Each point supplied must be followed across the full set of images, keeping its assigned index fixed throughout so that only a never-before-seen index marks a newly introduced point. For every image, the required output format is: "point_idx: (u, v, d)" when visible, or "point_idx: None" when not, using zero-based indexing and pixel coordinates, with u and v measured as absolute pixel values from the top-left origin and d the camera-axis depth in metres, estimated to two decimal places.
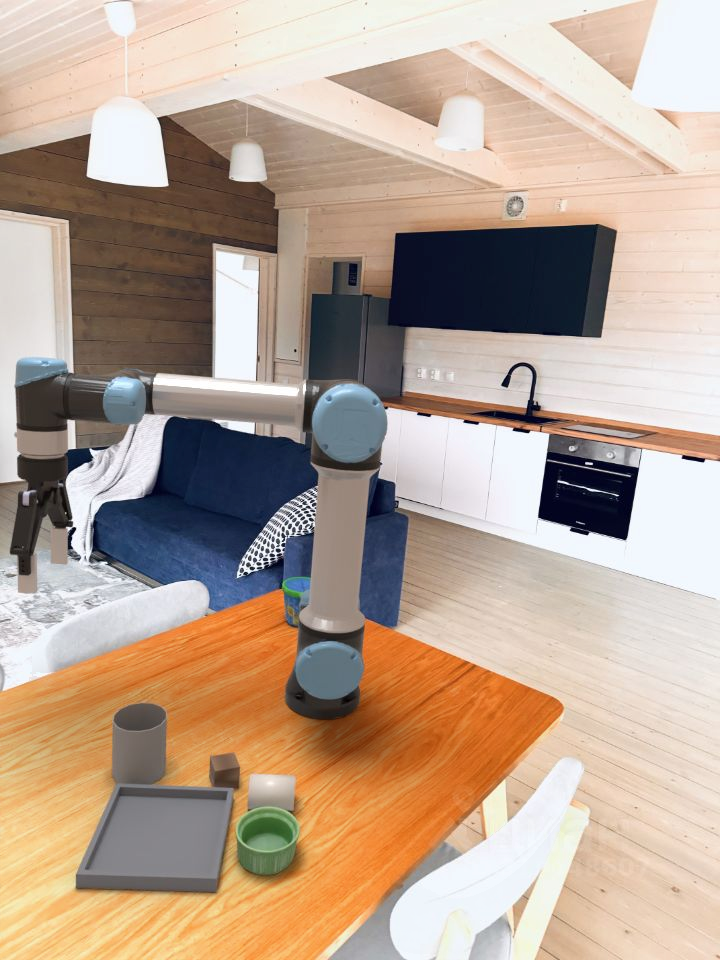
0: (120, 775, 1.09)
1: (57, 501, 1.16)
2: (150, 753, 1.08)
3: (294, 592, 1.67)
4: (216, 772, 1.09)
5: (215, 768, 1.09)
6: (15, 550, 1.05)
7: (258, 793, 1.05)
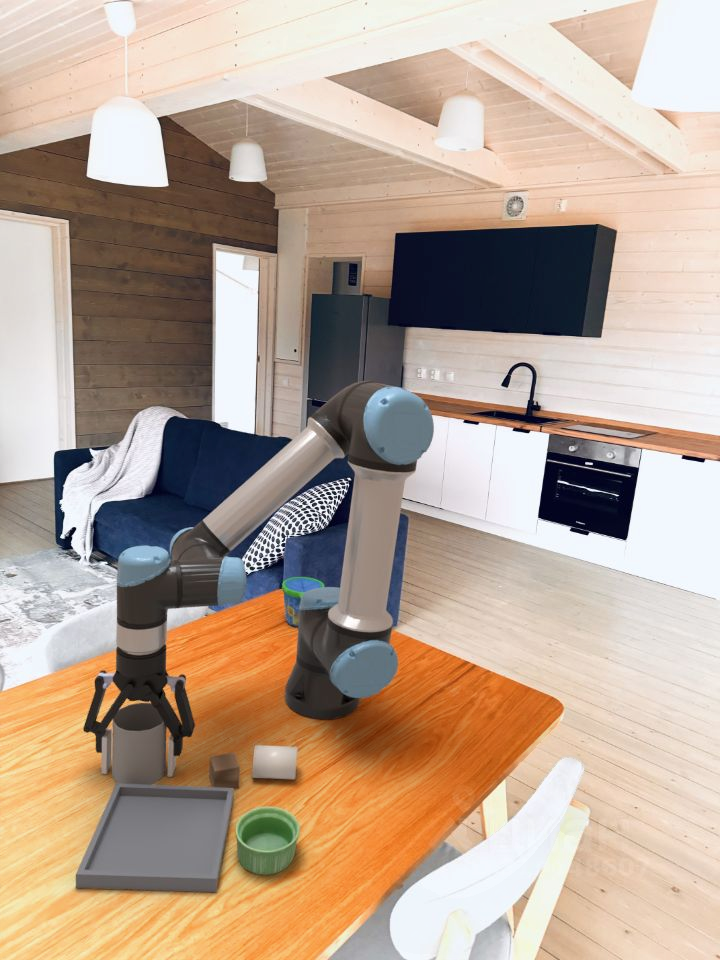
0: (120, 775, 1.09)
1: (150, 699, 1.08)
2: (150, 753, 1.08)
3: (294, 592, 1.67)
4: (216, 772, 1.09)
5: (215, 768, 1.09)
6: None
7: None
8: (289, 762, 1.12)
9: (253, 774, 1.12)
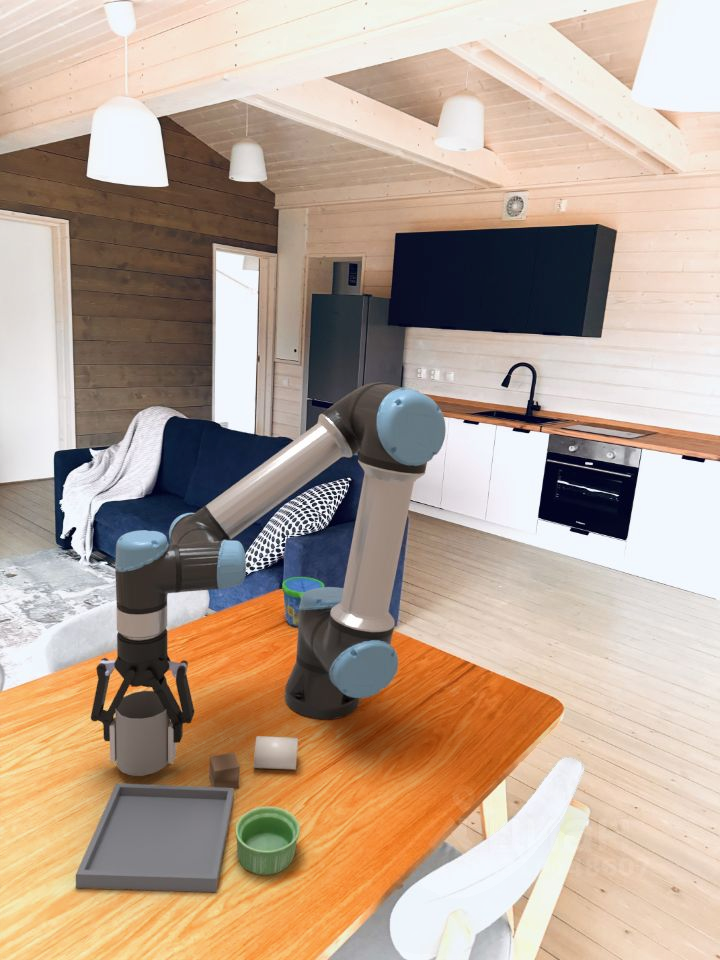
0: (125, 763, 1.09)
1: (151, 685, 1.08)
2: (154, 740, 1.08)
3: (294, 592, 1.67)
4: (216, 772, 1.09)
5: (215, 768, 1.09)
6: None
7: None
8: (291, 739, 1.17)
9: (256, 749, 1.14)
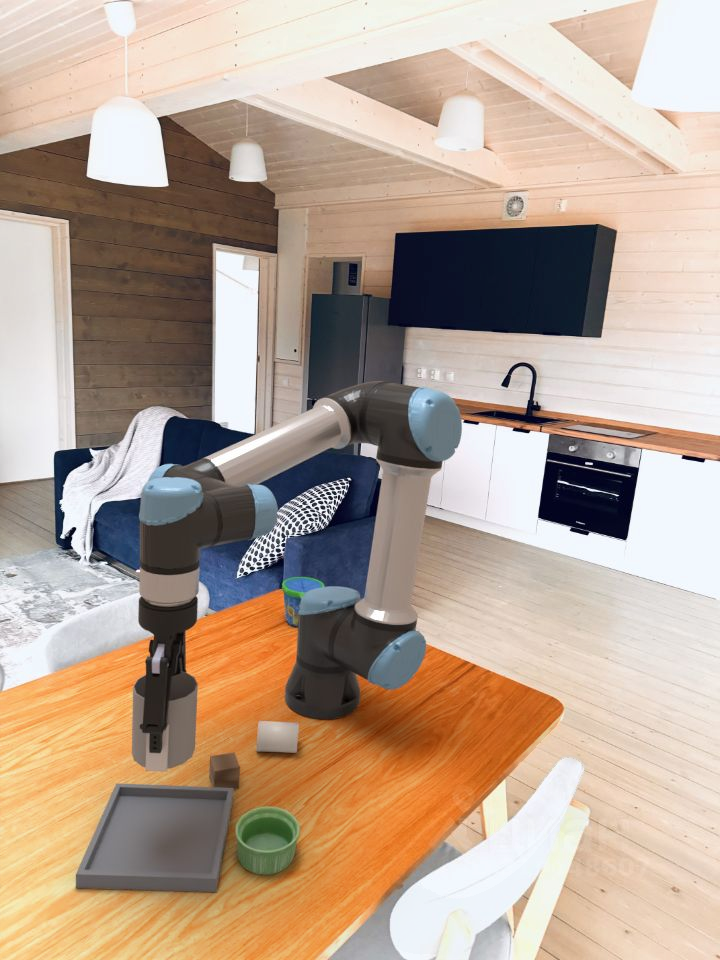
0: (187, 749, 0.93)
1: (180, 650, 0.94)
2: None
3: (294, 592, 1.67)
4: (216, 772, 1.09)
5: (215, 768, 1.09)
6: (148, 728, 0.86)
7: (265, 741, 1.19)
8: None
9: None
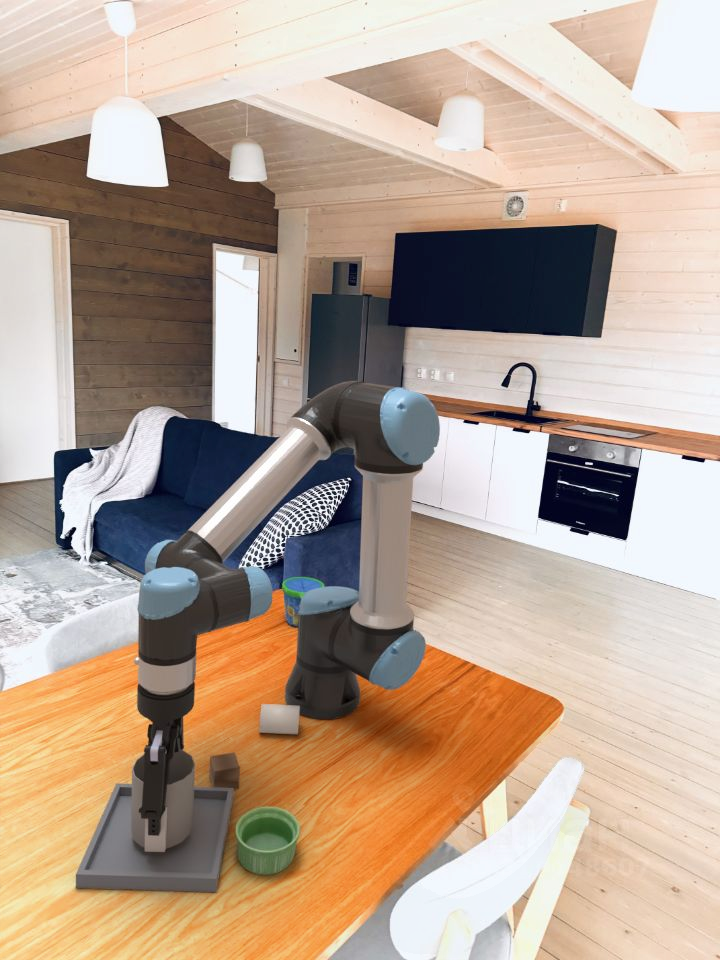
0: (185, 828, 0.96)
1: (178, 732, 0.97)
2: None
3: (294, 592, 1.67)
4: (216, 772, 1.09)
5: (215, 768, 1.09)
6: (147, 814, 0.89)
7: None
8: (291, 731, 1.25)
9: None
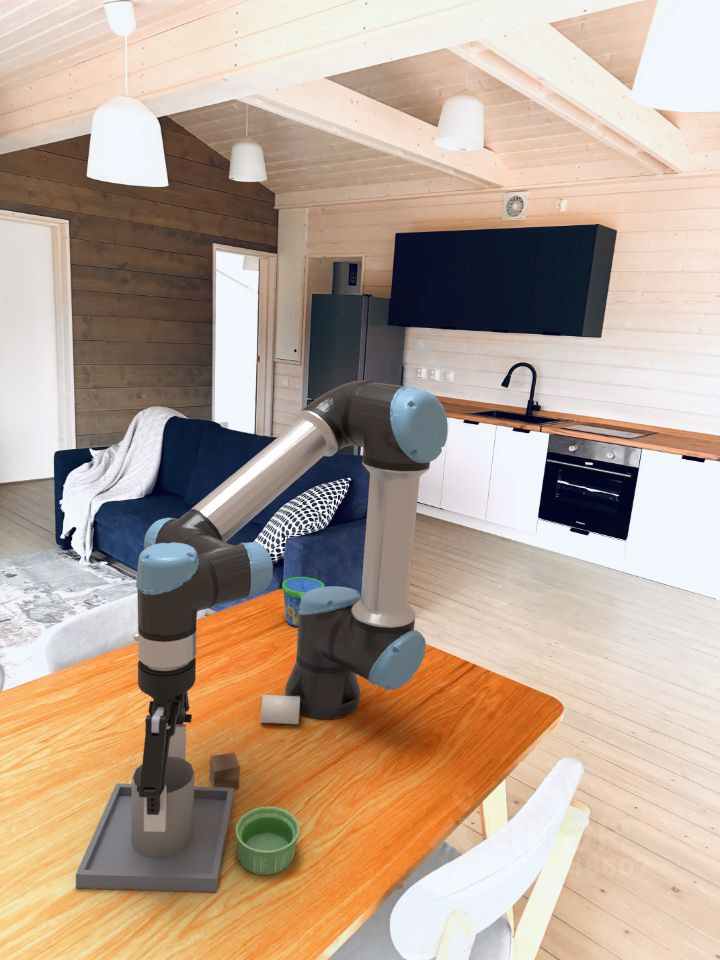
0: (185, 836, 0.97)
1: (180, 705, 0.97)
2: None
3: (294, 592, 1.67)
4: (216, 772, 1.09)
5: (215, 768, 1.09)
6: (145, 793, 0.86)
7: None
8: (293, 705, 1.28)
9: (261, 716, 1.27)
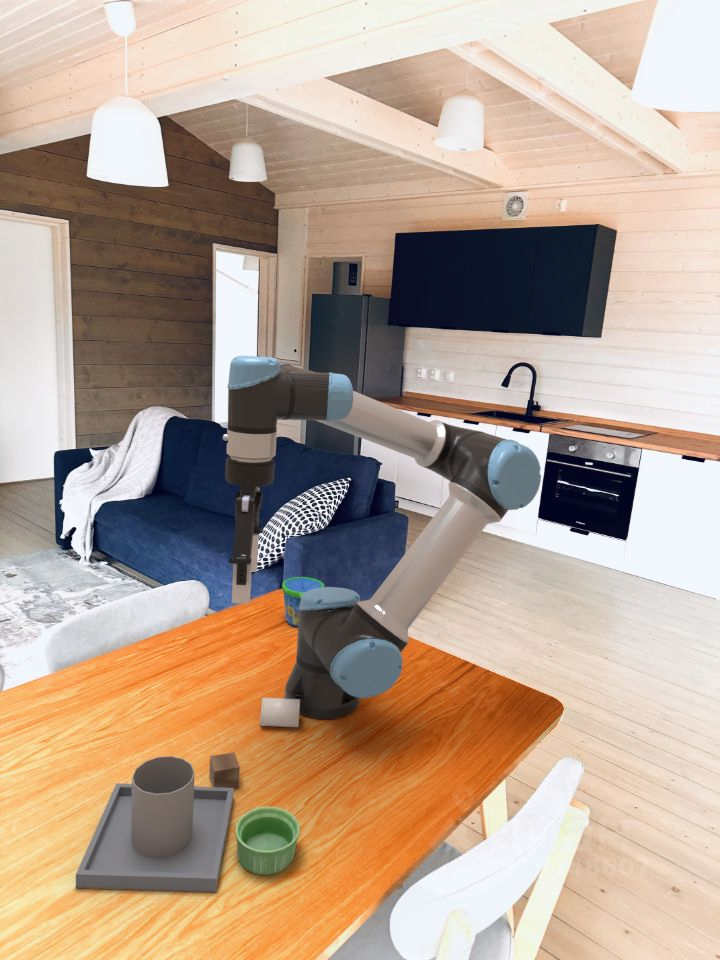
0: (185, 836, 0.97)
1: None
2: None
3: (294, 592, 1.67)
4: (215, 772, 1.09)
5: (215, 768, 1.09)
6: (237, 559, 1.00)
7: None
8: (293, 713, 1.27)
9: (261, 723, 1.27)
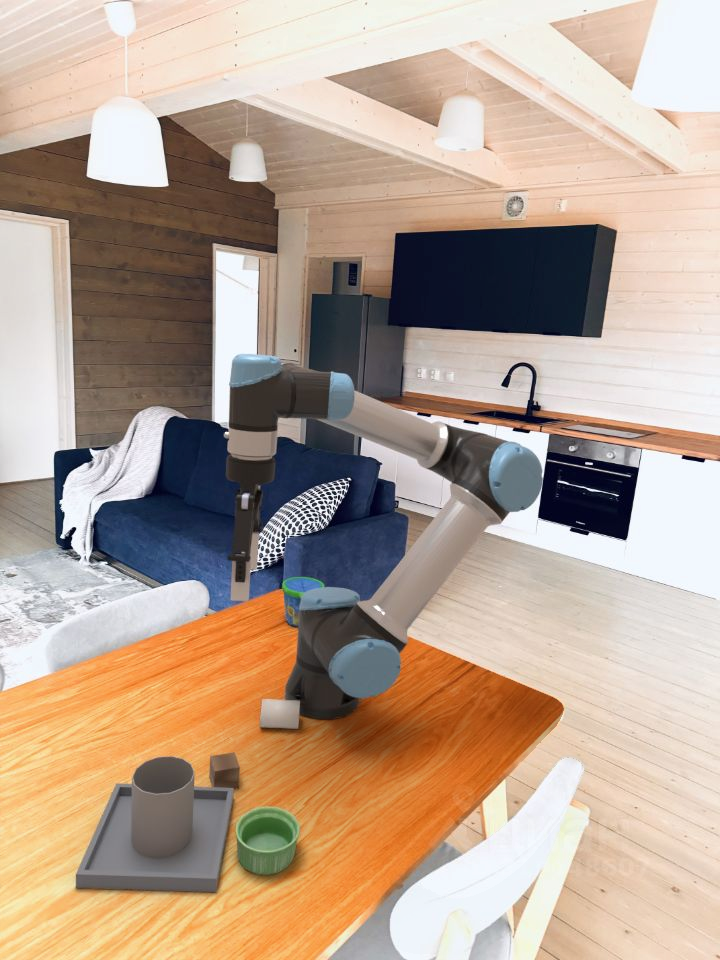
0: (185, 836, 0.97)
1: None
2: None
3: (294, 592, 1.67)
4: (216, 772, 1.09)
5: (215, 768, 1.09)
6: (236, 556, 1.00)
7: None
8: (292, 718, 1.26)
9: (261, 726, 1.27)
